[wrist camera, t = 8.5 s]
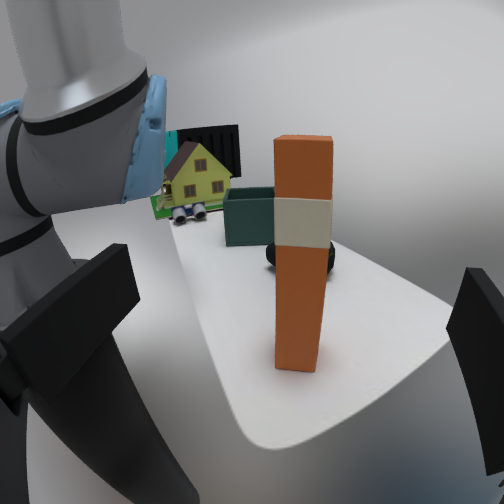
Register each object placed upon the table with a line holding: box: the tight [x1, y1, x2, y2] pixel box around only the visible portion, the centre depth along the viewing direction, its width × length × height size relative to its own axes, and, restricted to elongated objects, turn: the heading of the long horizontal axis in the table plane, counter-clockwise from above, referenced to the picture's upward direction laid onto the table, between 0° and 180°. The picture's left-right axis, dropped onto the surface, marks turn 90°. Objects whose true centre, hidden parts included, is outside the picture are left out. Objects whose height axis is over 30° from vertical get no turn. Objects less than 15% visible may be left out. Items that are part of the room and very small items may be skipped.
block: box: [274, 135, 333, 372], centre depth 19 cm, size 3×4×16 cm
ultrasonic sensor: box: [171, 201, 207, 224], centre depth 51 cm, size 6×2×3 cm, turn 112°
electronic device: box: [163, 125, 241, 179], centre depth 79 cm, size 25×25×15 cm
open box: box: [223, 187, 275, 246], centre depth 43 cm, size 8×7×6 cm
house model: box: [150, 141, 232, 220], centre depth 61 cm, size 18×20×13 cm
